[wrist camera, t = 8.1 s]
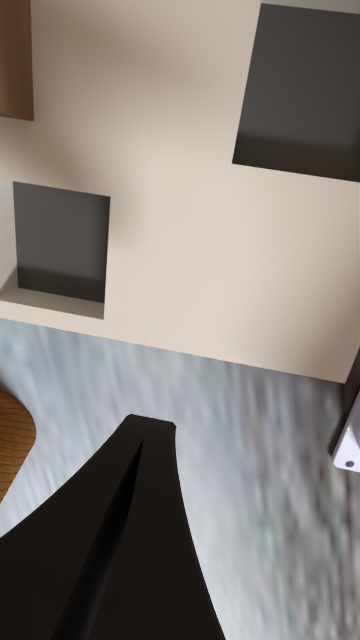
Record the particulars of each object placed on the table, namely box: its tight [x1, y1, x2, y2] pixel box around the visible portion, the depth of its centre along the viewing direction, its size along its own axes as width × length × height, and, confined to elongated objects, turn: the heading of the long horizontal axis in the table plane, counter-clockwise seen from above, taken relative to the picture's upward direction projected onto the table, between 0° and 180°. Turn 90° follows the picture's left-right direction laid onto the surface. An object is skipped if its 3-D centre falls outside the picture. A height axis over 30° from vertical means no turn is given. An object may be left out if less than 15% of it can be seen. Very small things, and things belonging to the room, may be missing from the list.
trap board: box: [0, 0, 360, 383], centre depth 14 cm, size 22×16×4 cm
